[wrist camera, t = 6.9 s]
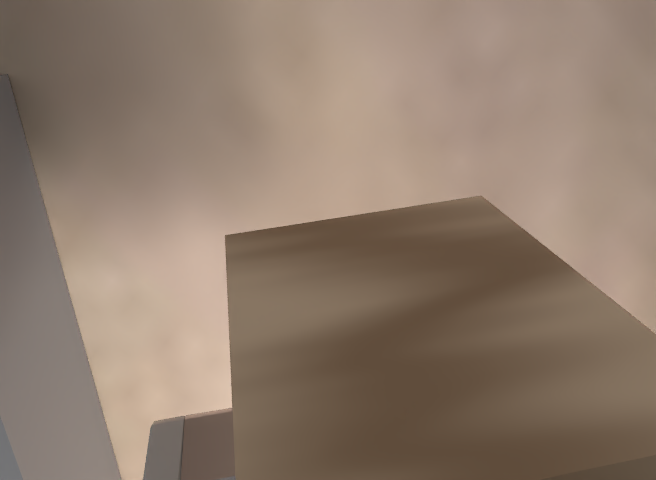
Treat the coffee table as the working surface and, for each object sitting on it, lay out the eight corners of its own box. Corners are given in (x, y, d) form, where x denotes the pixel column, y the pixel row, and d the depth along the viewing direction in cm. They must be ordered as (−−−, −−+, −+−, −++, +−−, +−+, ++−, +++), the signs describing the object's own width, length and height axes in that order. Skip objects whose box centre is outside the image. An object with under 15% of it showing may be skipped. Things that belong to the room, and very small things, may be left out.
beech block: (481, 195, 12) (776, 429, 6) (482, 403, 14) (702, 749, 8) (224, 235, 12) (238, 542, 5) (262, 446, 14) (306, 857, 7)
